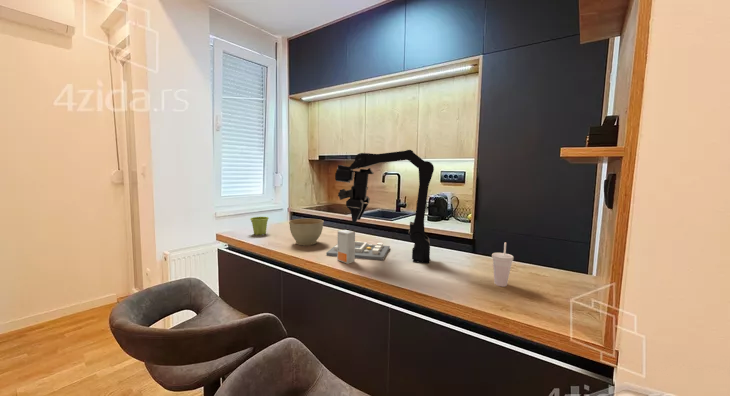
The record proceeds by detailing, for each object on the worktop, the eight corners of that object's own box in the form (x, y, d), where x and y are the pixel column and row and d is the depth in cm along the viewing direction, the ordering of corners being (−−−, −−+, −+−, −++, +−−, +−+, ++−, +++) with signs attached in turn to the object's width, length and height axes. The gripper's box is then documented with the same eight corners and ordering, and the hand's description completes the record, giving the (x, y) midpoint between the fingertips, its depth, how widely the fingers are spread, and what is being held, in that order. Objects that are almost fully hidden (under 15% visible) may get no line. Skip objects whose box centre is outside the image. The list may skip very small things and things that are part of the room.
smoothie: (510, 289, 93) (513, 245, 91) (488, 285, 96) (491, 242, 94) (512, 283, 98) (515, 241, 96) (491, 279, 101) (494, 238, 100)
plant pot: (258, 236, 155) (257, 220, 154) (246, 234, 160) (246, 218, 159) (272, 233, 163) (272, 217, 162) (261, 231, 168) (261, 216, 167)
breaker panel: (389, 248, 137) (389, 242, 137) (383, 260, 120) (383, 253, 119) (339, 244, 142) (339, 238, 142) (326, 255, 125) (326, 248, 124)
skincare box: (336, 260, 118) (337, 230, 117) (344, 258, 121) (344, 229, 120) (347, 264, 114) (347, 233, 113) (355, 261, 117) (355, 231, 116)
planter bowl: (327, 246, 139) (327, 223, 138) (291, 249, 133) (291, 225, 132) (319, 238, 154) (319, 217, 153) (287, 240, 148) (287, 218, 147)
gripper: (346, 180, 132) (343, 215, 134) (335, 182, 114) (331, 222, 116) (371, 183, 130) (367, 218, 132) (363, 186, 112) (359, 227, 114)
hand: (356, 221), depth 123 cm, fingers open, 9 cm apart
